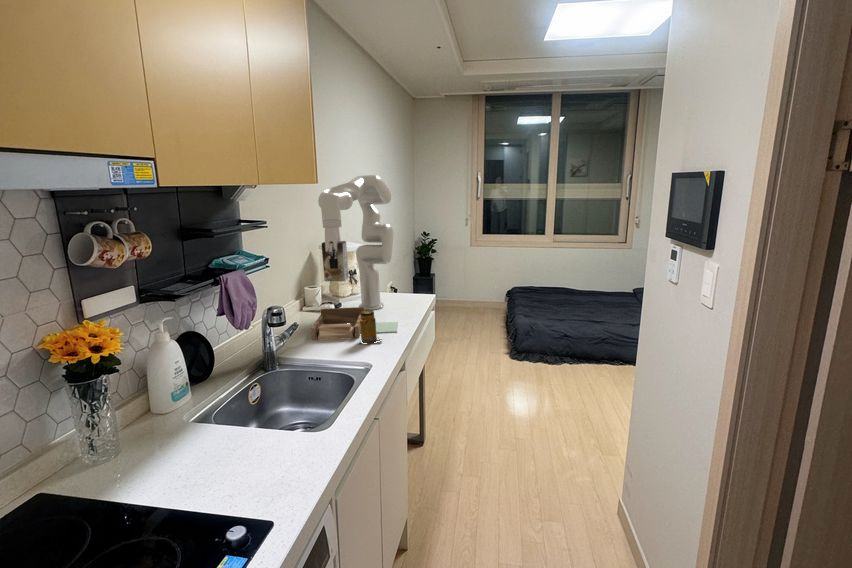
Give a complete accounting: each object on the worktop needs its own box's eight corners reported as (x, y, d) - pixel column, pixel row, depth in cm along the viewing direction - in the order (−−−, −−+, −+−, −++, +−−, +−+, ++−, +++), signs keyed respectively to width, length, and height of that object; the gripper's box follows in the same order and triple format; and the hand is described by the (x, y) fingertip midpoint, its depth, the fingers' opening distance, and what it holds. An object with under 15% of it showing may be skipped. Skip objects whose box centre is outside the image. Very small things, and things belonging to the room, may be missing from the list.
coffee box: (323, 281, 182) (320, 243, 179) (328, 278, 188) (325, 241, 185) (345, 281, 181) (342, 242, 178) (349, 278, 187) (346, 240, 184)
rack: (322, 323, 198) (321, 308, 196) (365, 321, 198) (363, 307, 197) (311, 340, 177) (310, 323, 175) (359, 338, 177) (358, 321, 176)
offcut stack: (320, 336, 182) (319, 324, 181) (354, 335, 182) (353, 323, 181) (318, 340, 177) (317, 327, 176) (353, 338, 177) (352, 326, 176)
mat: (368, 324, 195) (368, 323, 195) (398, 322, 195) (397, 321, 195) (365, 333, 182) (365, 332, 182) (396, 332, 182) (396, 331, 182)
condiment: (362, 338, 177) (359, 309, 174) (383, 337, 177) (381, 309, 174) (359, 344, 170) (356, 315, 167) (381, 344, 170) (379, 314, 167)
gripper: (326, 222, 188) (330, 263, 192) (318, 226, 171) (322, 271, 175) (344, 221, 188) (347, 262, 192) (337, 225, 171) (341, 270, 175)
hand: (335, 266), depth 183 cm, fingers closed on coffee box, 6 cm apart
